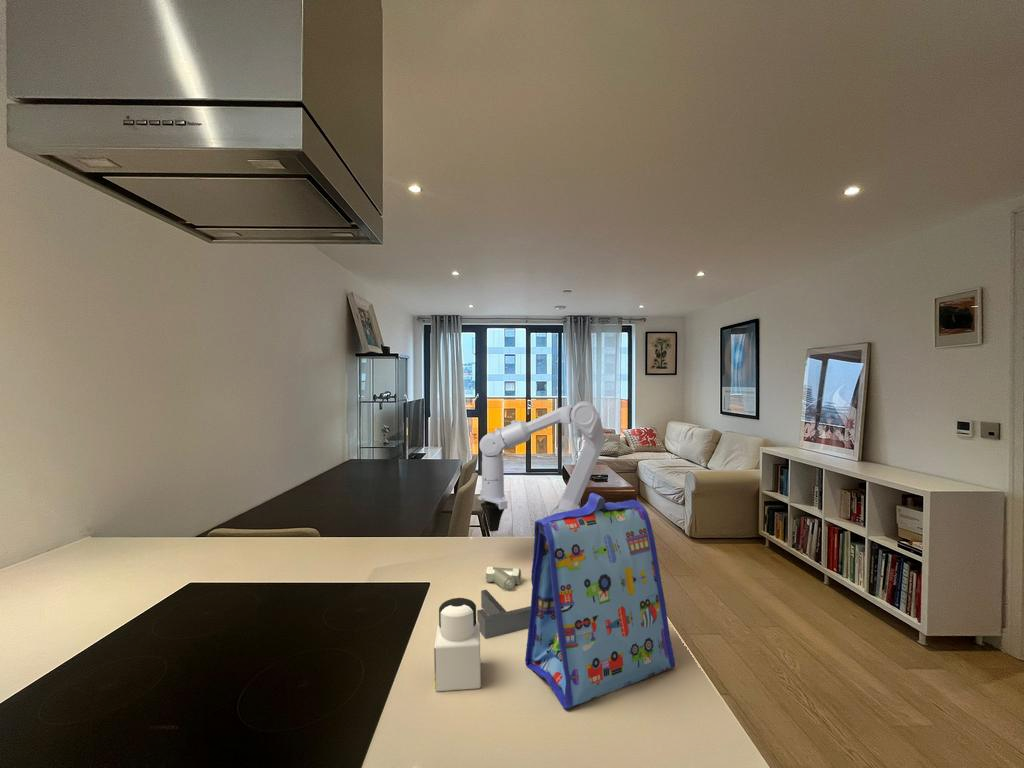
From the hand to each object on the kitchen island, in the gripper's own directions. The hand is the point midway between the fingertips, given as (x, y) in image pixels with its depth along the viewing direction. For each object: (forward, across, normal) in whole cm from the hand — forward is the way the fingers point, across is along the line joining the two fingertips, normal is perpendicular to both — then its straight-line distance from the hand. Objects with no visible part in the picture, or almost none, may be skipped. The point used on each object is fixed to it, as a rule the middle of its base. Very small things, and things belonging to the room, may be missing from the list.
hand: (493, 530), depth 121 cm
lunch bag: (+10, +48, 0) cm, 49 cm away
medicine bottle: (+10, +40, -22) cm, 47 cm away
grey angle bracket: (+10, +25, -3) cm, 27 cm away
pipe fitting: (+10, +10, -2) cm, 15 cm away
